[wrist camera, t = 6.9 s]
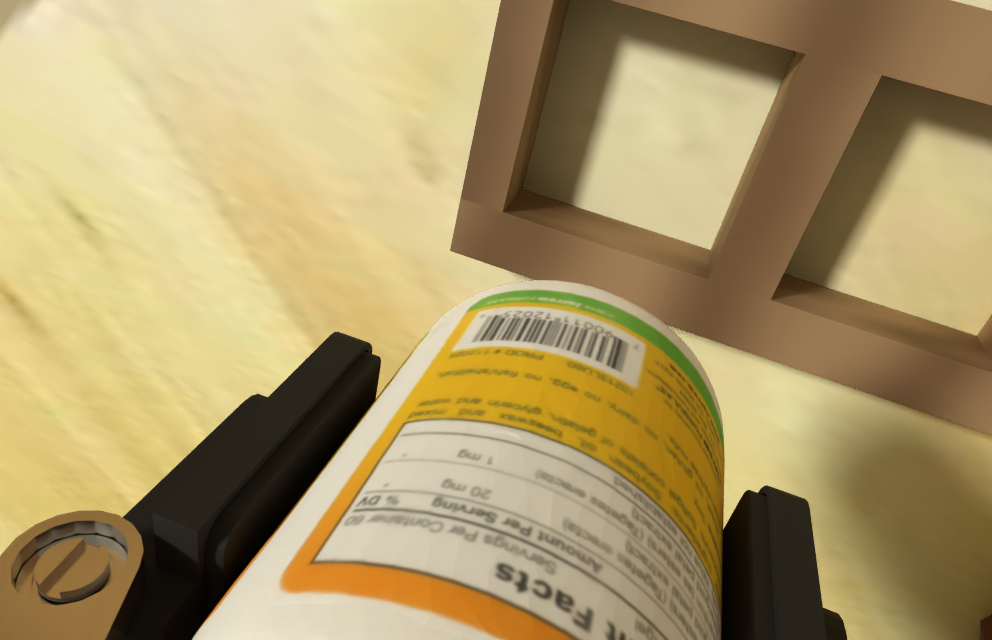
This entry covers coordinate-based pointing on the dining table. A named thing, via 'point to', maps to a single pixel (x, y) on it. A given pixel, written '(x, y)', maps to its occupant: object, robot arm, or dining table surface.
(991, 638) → the muffin
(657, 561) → the supplement bottle
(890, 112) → the dining table surface
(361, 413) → the robot arm
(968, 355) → the bottle rack
